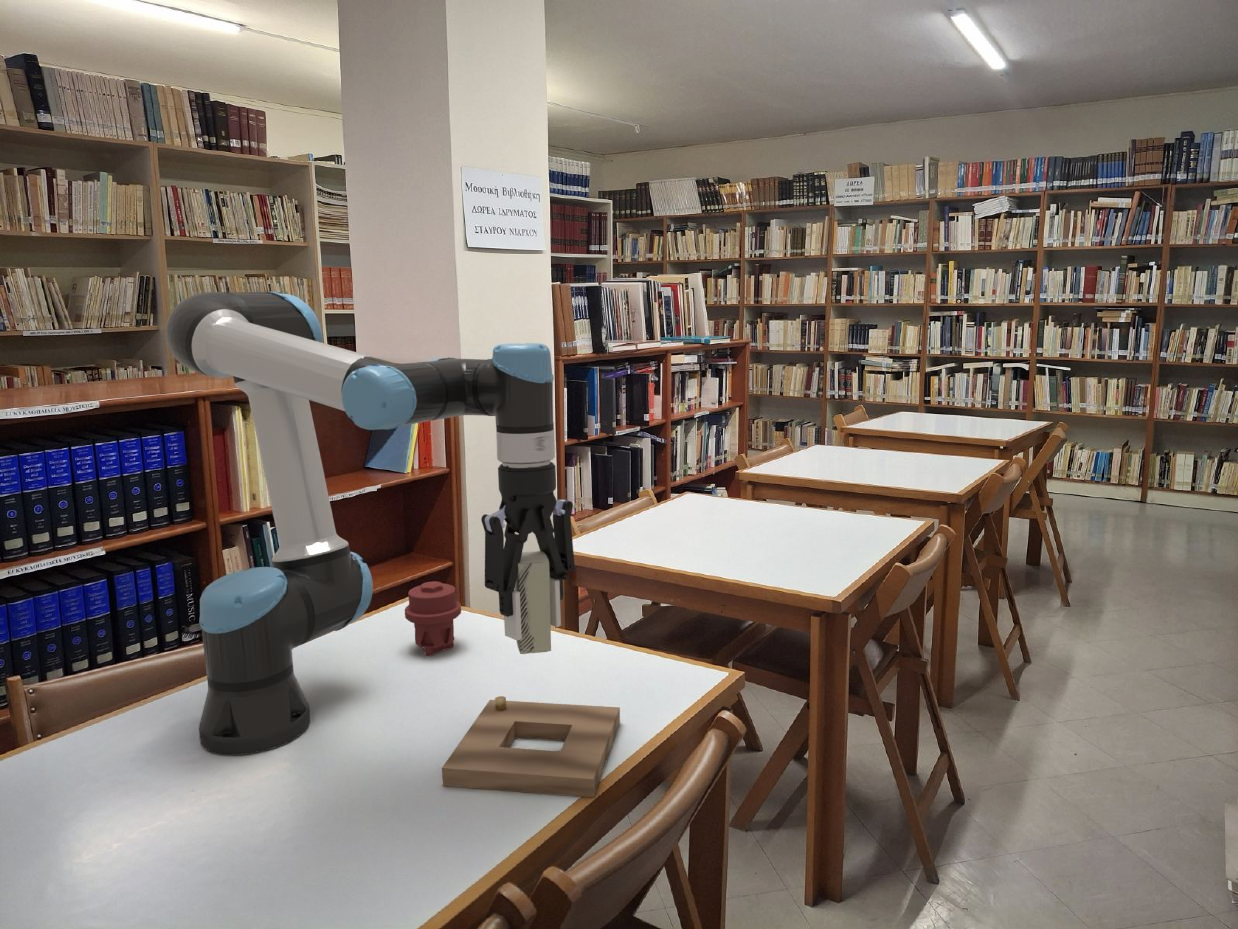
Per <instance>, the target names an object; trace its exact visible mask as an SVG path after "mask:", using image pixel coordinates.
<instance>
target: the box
mask: <svg viewBox="0 0 1238 929" xmlns="http://www.w3.org/2000/svg"><path fill="white" fill-rule="evenodd" d="M514 590H516V591H519V592H520V609H521V633H522V639H521V640H518V641H517V640H515V641H516V646H517V650H518V651H519V654H521V655H527V654H538V653H540V654H541V653H547V652H551V651H552V639H551V637H552V633H551V632H552V631H551V630H552V629H551V627H552V625H551V621H550V573H549V560H548V558H547V556H546V554H545V552H543V551H540V550H537V551H525V552H523V551H522V555H521V560H520V563H518V575H517V579H516V584H515V589H514Z"/></svg>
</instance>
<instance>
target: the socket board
mask: <svg viewBox="0 0 1238 929" xmlns="http://www.w3.org/2000/svg"><path fill="white" fill-rule="evenodd" d="M620 708H621V707H615V706H602V705H601V706H600V705H585V704H584V705H583V704H568V703H566V704H565V703H555V702H554V703H553V702H551V703H550V702H534V701H519V700H518V701H517V700H516V701H515V700H507V697H506V696H503V695H502V696H496V697H495V698H494V699H489V700H488V702H487V703H486V704H485V706H484V707H483V709H482V710H481V712H480V713H479V714H478V716H477V717H476V718H475V720H474V721H473V723H472V725H471V726H470V727H469V728H468V730H467V732H466V733H465V734H464V736H463V737H462V739H461V740H460V741H459V742H458V744H457V746H456V747H455V748H454V750H453V751H452V753H451V754H450V756H449V757H448V759H447V760H446V761H445V762H444V764H443V765H442V767H441V779H442V786H444V787H453V788H454V787H456V788H457V787H458V788H465V789H466V788H467V789H469V788H471V789H483V790H491V791H492V790H494V791H504V792H505V791H506V792H519V793H533V794H544V795H545V794H547V795H557V796H558V795H560V796H570V797H571V796H572V797H583V798H595V795H596V793H597V789H598V787H599V784H600V781H601V778H602V775H603V773H604V770H605V768H606V765H607V761H608V758H609V755H610V752H611V750H612V748H613V745H614V742H615V738H616V736H617V733H618V731H619V727H620V725H621V715H620V714H621V709H620ZM515 738H520V739H538V740H548V741H549V740H551V741H553V740H554V741H564V742H563V745H562V747H561V748H560V750H549V749H547V750H546V749H537V748H536V749H533V748H521V747H518V748H517V747H511V746H512V744H513V742H514V741H515Z"/></svg>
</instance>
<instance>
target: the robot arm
mask: <svg viewBox="0 0 1238 929" xmlns="http://www.w3.org/2000/svg"><path fill="white" fill-rule="evenodd" d="M165 339H166V344H167V346H168V349H169V351H170V352H171V354H172V355H173V357H174V358H175V360H176V361H177V362H179V363H180V364H181V365H183V366H184V367H185V368H187V369H189V370H190V371H193V372H196V373H199V374H201V375H205V376H207V377H212V378H214V379H215V378H216V379H220V380H223V379H228V378H231V377H233V378H232V379H233V383H234V385H235V386H234V387H236V388H238V390H240V391H242V392H243V393H245V394H246V395H247V398H248V401H249V407H250V411H251V412H250V413H251V416H252V421H253V425H254V430H255V435H256V439H257V444H258V449H259V453H260V459H261V462H262V463H261V464H262V468H263V473H264V478H265V483H266V486H267V491H268V496H269V501H270V505H271V511H272V517H273V519H274V524H275V528H276V533H277V534H276V535H277V538H278V545H279V547H278V549H277V550H276V552H275V554H274V555H273V557H272V558H271V560H272V567H271V566H259V567H258V566H257V567H250V568H249V569H246V570H243V569H241V570H238V571H234V572H231V573H228V574H225V575H223V576H221V577H219V578H217V579H216V580H213V581H212V582H211V583H209V585H207V586H206V587H205V589H204V590H203V591H202V593H201V596H200V598H199V626H200V627H201V628H200V629H201V637H202V645H203V652H204V662H205V663H204V664H205V670H206V679H207V692H206V696H205V700H204V704H203V708H202V714H201V717H200V720H199V724H198V731H199V732H198V733H199V741H200V742H199V743H200V746H201V747H203V749H204V750H206V751H208V752H211V753H214V754H218V755H227V756H228V755H229V756H236V755H237V756H238V755H249V754H250V755H251V754H256V753H260V752H264V751H265V752H266V751H269V750H271V749H275V748H277V747H280V746H284V745H285V744H287V743H289V742H292V741H293V740H295V739H297V738H298V737H300V736H301V735H302V734H304V733H305V732H306V731H307V729H308V728H309V727H310V724H311V712H310V711H311V709H310V704H309V702H308V700H307V699H306V696H305V694H304V692H303V690H302V688H301V686H300V682H299V681H298V679H297V677H296V675H295V671H294V663H293V662H294V661H293V659H294V658H293V650H294V649H296V648H298V647H299V646H302V645H305V644H307V643H309V642H311V641H314V640H316V639H318V638H322V637H324V636H325V635H327V634H331V633H333V632H337V631H340V630H343V629H345V628H346V627H348V625H350V624H352V623H354V622H356V621H358V620H359V619H360V618H361V617H363V616H364V614H365V613H366V611H367V609H368V608H369V606H370V604H371V601H372V597H373V591H374V590H373V589H374V588H373V587H374V586H373V585H374V584H373V578H372V574H371V571H370V569H369V566H368V563H366V562H363V560H364V559H363V557H361V556H360V555H359V554H358V553H356V552H353V551H351V550H350V545H349V541H347V540H346V539H344V538H342V537H340V536H339V535H338V533H337V530H336V526H335V522H334V517H333V510H332V507H331V502H330V496H329V492H328V488H327V482H326V478H325V477H326V476H325V472H324V467H323V462H322V458H321V453H320V448H319V443H318V438H317V433H316V428H315V424H314V420H313V414H312V410H311V409H312V408H311V405H310V401H311V402H315V403H318V404H320V405H324V406H327V407H331V408H334V409H337V410H340V411H343V412H345V414H346V415H347V417H348V418H349V419H350V420H352V422H353V423H354V425H355V426H357V427H359V428H361V429H365V430H368V431H375V430H385V431H386V430H388V431H389V430H393V429H394V430H395V429H397V428H399V427H405V426H409V425H415V424H419V423H425V422H430V421H437V420H442V419H448V418H449V419H450V418H455V417H459V416H488V417H495V428H496V432H495V434H496V435H495V436H496V460H497V461H498V462H499V463H501V464H500V465H499V466H498V467H497V478H498V480H497V481H498V491H499V493H500V495H501V496H500V497H501V501H500V504H499V506H498V507H499V508H498V510H497V511H495V512H493V513H491V514H483V515H482V516H481V523H482V526H483V530H484V587H485V588H486V589H487V590H488V589H489V590H491V591H495V592H496V593H498V606H499V607H498V609H499V614H500V615H502V616H503V619H504V620H503V623H504V636H505V637H508V638H510V639H513V640H515V641H516V640H517V641H518V640H521V639H522V633H521V609H520V592H519V591H516V590H515V584H516V579H517V575H518V563H520V560H521V555H522V552H523V549H524V545H525V543H526V542H527V541H528V538H529V534H531V533H532V534H534V535H535V538H536V542H537V544H538V548H539V551H543V552H545V554H546V556H547V558H548V560H549V573H550V621H551V627H552V626H553V627H555V628H558V627H561V626H562V618H561V617H562V616H561V615H562V614H561V601H562V600H563V599H564V598H563V597H564V581H566V580H567V579H568V578H569V573H568V572H573V571H574V570H575V568H576V566H575V556H574V555H575V554H574V544H573V533H572V529H573V528H572V521H571V520H572V519H571V517H572V512H573V506H574V504H573V502H572V501H570V500H565V499H561V498H556V496H555V493H554V491H555V490H556V489H557V474H556V473H557V471H556V469H557V468H556V464H555V463H554V462H553V461H554V459H555V457H556V447H555V446H556V445H555V428H554V427H555V426H554V424H555V423H554V399H553V398H554V387H553V386H554V378H555V377H554V374H553V366H552V356H551V355H552V354H551V351H550V348H549V347H548V346H547V345H545V344H544V343H540V342H539V343H537V342H534V343H533V342H531V343H504V344H503V343H502V344H501V343H500V344H496V345H495V346H494V347H493V349H492V356H491V358H488V359H484V358H482V359H480V358H479V359H478V358H456V357H449V356H448V357H444V358H443V357H441V358H434V359H433V358H432V359H429V360H426V361H420V362H417V361H416V362H407V363H397V362H392V361H389V360H385V359H380V358H378V357H377V358H376V357H373V356H372V355H371V356H370V355H368V354H364V353H360V352H357V351H353V350H349V349H346V348H342V347H339V346H336V345H335V346H334V345H332V344H331V345H330V344H327V343H325V342H323V332H322V327H321V324H320V321H319V319H318V316H316V313H315V312H314V311H313V309H312V308H311V306H310V305H308V304H307V303H306V302H304V301H303V300H302V299H301V298H299V297H297V296H296V295H293V294H288V293H278V292H274V291H267V292H263V291H262V292H261V291H259V292H258V291H256V292H253V291H250V292H249V291H248V292H247V291H245V292H244V291H243V292H240V291H239V292H236V291H235V292H230V291H229V292H223V291H222V292H220V291H206V292H201V293H200V292H199V293H195V294H193V295H191V296H189V297H186V298H184V299H182V301H180V302H179V303H178V304H177V305H176V306H175V307H174V308H173V309H172V311H171V312H170V314H169V316H168V317H167V321H166V325H165ZM551 517H552V519H551ZM504 522H505V523H506V524H505V523H504ZM504 528H505V529H504ZM504 538H505V540H504ZM504 541H505V542H504ZM517 641H516V642H517Z"/></svg>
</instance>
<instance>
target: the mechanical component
mask: <svg viewBox="0 0 1238 929" xmlns="http://www.w3.org/2000/svg"><path fill="white" fill-rule="evenodd" d="M456 594H457V593H456V587H455V586H454V585H451V584H448V583H442V582H440V581H436V580H435V581H434V580H433V581H427V582H423V583H422V584H421V585H417V586H415V587H413V588H411V589H410V590H408V605H407V606H406V607H405V608H404V618H405V619H406V620H407V621H408V622H410V623H412V624H413V625H414V626H413V627H414V642H415V643H414V644H415V645H416V646H417V647H419V648H423V649H424V654H425V656H428V657H431V656H433V655H435V654H437V653H439V652H442V651H445V650H448V649H452V648H453V647H454V644H455V643H454V641H455V635H454V634H455V631H454V630H455V626H454V624H455V623H454V620H455V619H457V618H458V617H459V616H460V615H461V614H462V603H460V602H459V600H457V595H456Z"/></svg>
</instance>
